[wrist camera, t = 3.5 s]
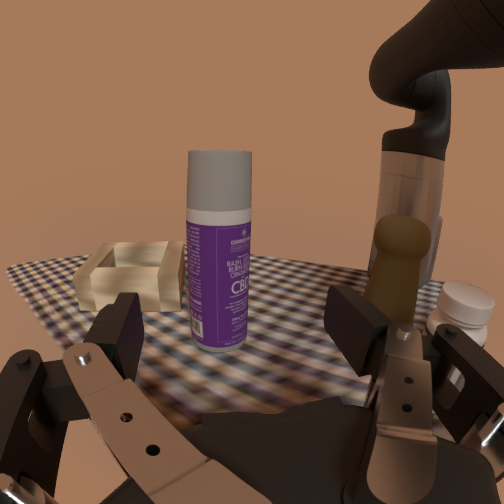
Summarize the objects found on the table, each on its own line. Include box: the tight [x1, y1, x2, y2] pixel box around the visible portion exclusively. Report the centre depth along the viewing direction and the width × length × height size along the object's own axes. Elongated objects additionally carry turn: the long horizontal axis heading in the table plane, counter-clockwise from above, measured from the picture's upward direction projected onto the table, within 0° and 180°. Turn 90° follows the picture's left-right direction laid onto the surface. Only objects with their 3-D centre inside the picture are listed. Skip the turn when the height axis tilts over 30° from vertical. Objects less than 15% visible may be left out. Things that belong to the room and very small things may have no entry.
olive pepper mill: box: [363, 215, 431, 325], centre depth 23 cm, size 6×6×11 cm
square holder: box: [73, 241, 185, 312], centre depth 31 cm, size 11×11×4 cm
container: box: [186, 150, 252, 353], centre depth 21 cm, size 5×5×15 cm
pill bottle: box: [422, 281, 495, 414], centre depth 15 cm, size 5×5×8 cm
